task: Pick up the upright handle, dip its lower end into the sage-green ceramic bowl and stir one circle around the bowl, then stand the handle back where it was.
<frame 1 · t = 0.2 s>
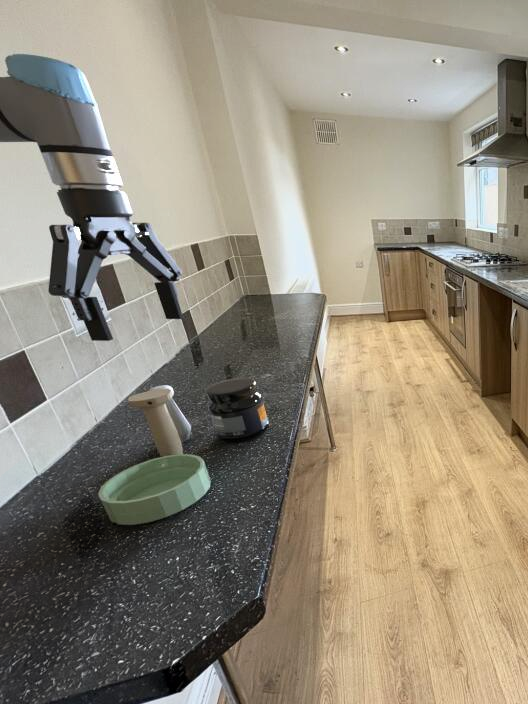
hand: (142, 328, 69), 29 cm above the countertop, tool pointing down, fingers open, 13 cm apart
supplement container: (244, 433, 95), on the countertop
salt shaker: (178, 441, 92), on the countertop
bowl: (163, 499, 73), on the countertop
handle: (175, 461, 85), on the countertop
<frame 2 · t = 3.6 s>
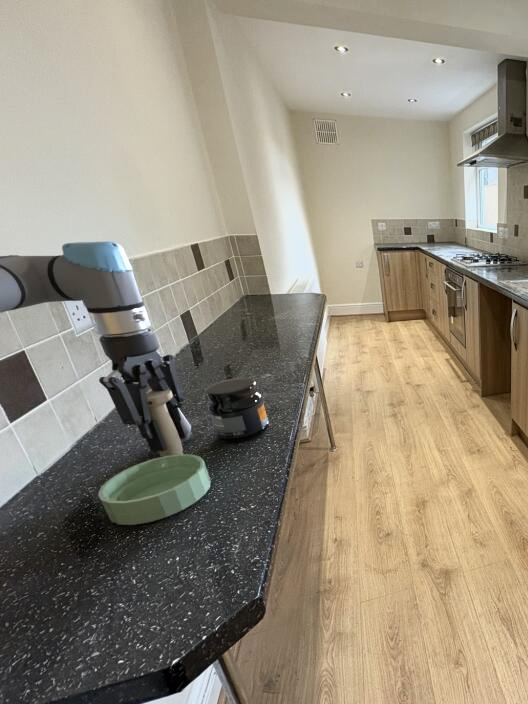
hand: (168, 443, 83), 4 cm above the countertop, tool pointing down, fingers closed on handle, 4 cm apart
handle: (175, 461, 85), on the countertop, touching gripper
everything else where it was.
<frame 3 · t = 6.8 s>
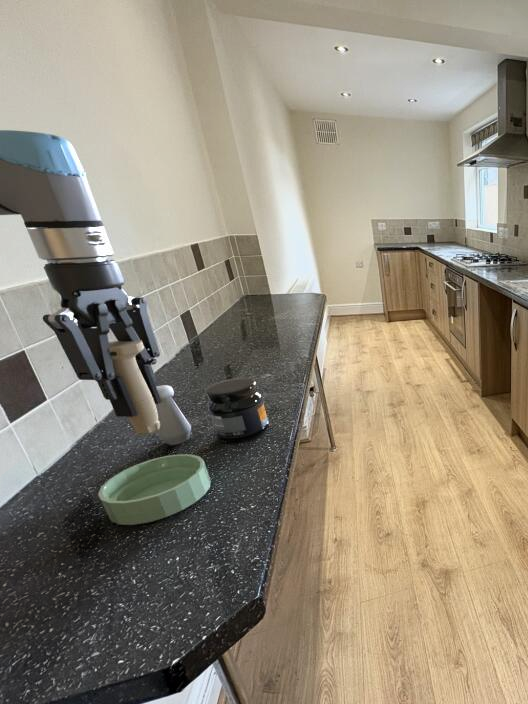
hand: (139, 408, 67), 18 cm above the countertop, tool pointing down, fingers closed on handle, 4 cm apart
handle: (149, 431, 68), point 14 cm above the countertop, touching gripper
everything else where it was.
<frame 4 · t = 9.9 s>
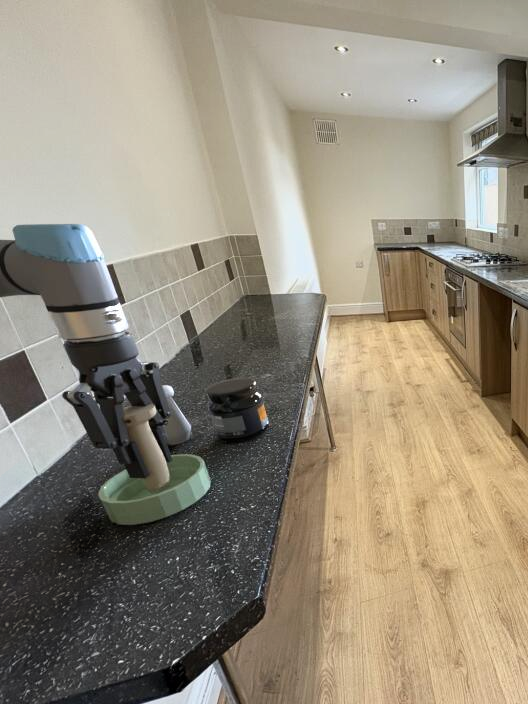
hand: (152, 468, 69), 7 cm above the countertop, tool pointing down, fingers closed on handle, 4 cm apart
handle: (160, 489, 71), point 3 cm above the countertop, touching gripper
everything else where it was.
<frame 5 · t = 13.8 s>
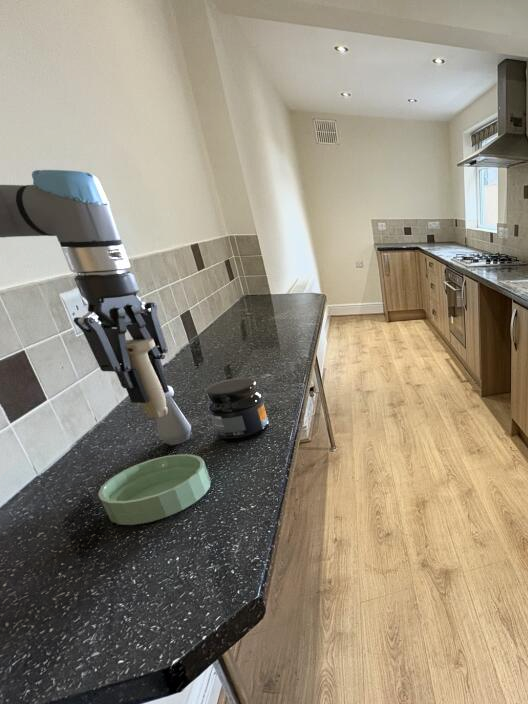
hand: (150, 396, 79), 15 cm above the countertop, tool pointing down, fingers closed on handle, 4 cm apart
handle: (158, 416, 80), point 10 cm above the countertop, touching gripper
everything else where it was.
when the fingers open (4 cm above the countertop, at t = 16.4 s): handle stays where it is, on the countertop.
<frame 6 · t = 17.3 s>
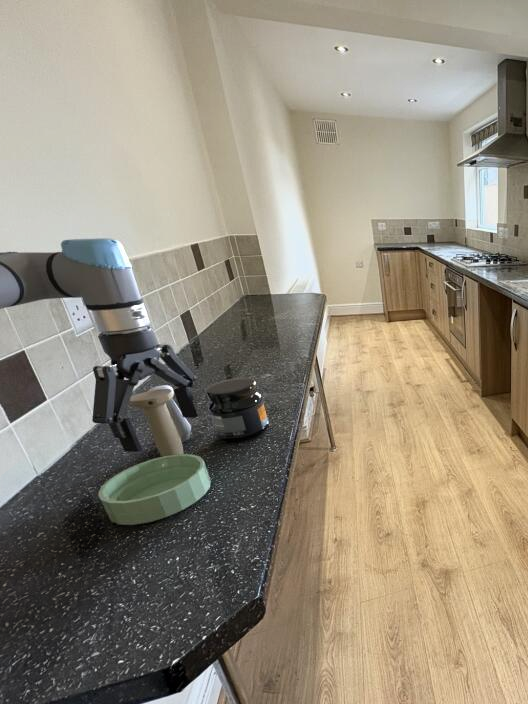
hand: (164, 432, 82), 7 cm above the countertop, tool pointing down, fingers open, 13 cm apart
handle: (176, 461, 85), on the countertop
everything else where it was.
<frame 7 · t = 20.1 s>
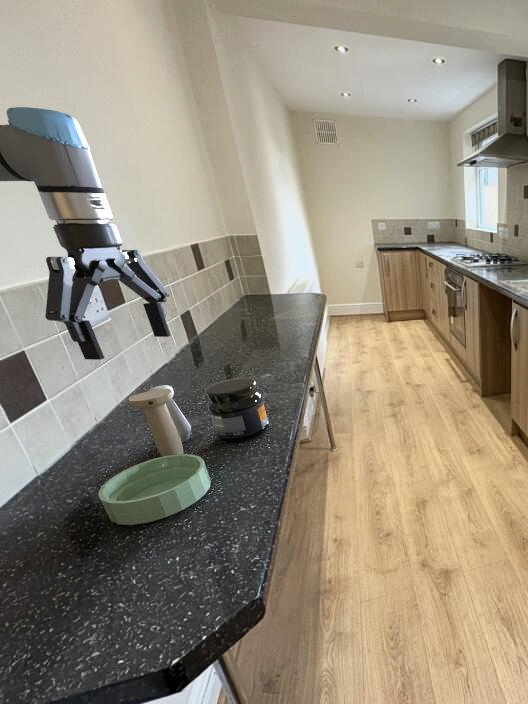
hand: (131, 346, 75), 25 cm above the countertop, tool pointing down, fingers open, 13 cm apart
nothing on the countertop moved.
at the end: handle inside the target area (0.1 cm from its centre), on the countertop; handle tilted 0°; handle touching countertop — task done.
